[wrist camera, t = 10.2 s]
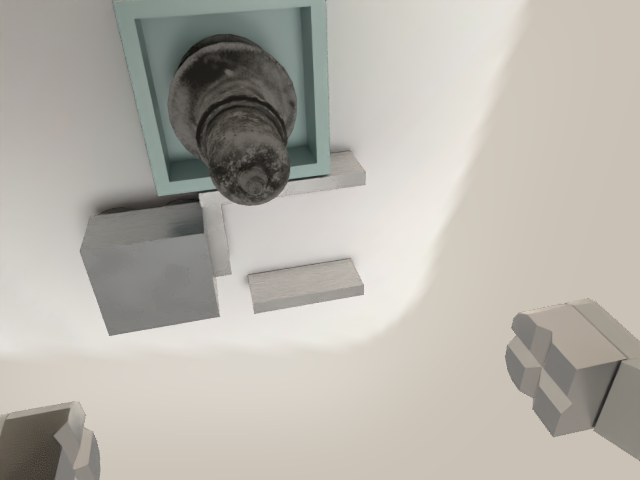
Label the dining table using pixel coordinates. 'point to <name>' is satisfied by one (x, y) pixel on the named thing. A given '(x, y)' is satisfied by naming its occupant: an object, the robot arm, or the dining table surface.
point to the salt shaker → (235, 116)
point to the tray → (208, 20)
